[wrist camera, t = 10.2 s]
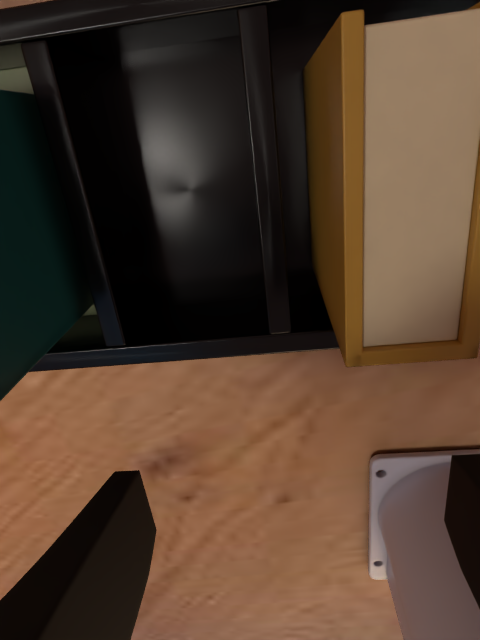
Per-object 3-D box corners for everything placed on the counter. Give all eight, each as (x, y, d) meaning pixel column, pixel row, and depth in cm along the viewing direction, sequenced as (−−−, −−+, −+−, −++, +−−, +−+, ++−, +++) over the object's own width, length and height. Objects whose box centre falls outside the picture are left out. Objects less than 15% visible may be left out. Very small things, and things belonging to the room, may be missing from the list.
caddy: (427, 296, 18) (468, 339, 14) (17, 331, 20) (-38, 377, 16) (451, -24, 13) (520, -80, 10) (-86, 60, 15) (-195, 40, 12)
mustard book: (386, 258, 17) (478, 358, 10) (312, 265, 17) (345, 368, 10) (392, 56, 14) (530, -18, 7) (302, 69, 14) (340, 11, 7)
